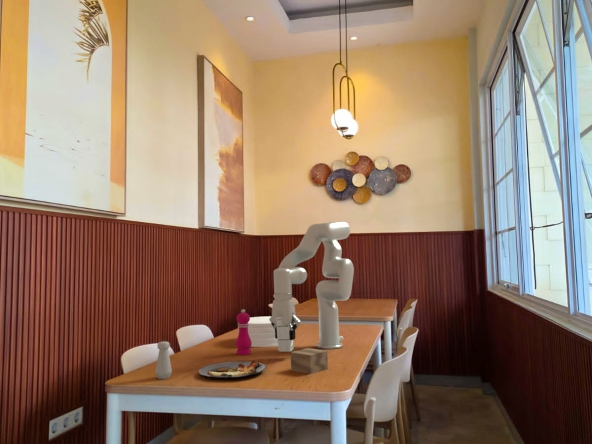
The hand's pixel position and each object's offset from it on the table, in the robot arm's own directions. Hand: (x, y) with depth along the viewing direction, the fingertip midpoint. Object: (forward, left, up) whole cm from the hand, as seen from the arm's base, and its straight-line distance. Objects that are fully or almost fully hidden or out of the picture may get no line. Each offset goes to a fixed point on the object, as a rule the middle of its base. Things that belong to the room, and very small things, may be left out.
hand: (285, 338), depth 198 cm
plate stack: (-26, -35, -9) cm, 44 cm away
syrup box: (0, 0, -5) cm, 5 cm away
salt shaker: (+49, -18, -9) cm, 53 cm away
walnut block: (+10, +20, -9) cm, 24 cm away
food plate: (+30, -1, -9) cm, 31 cm away
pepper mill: (+2, -23, -9) cm, 25 cm away
